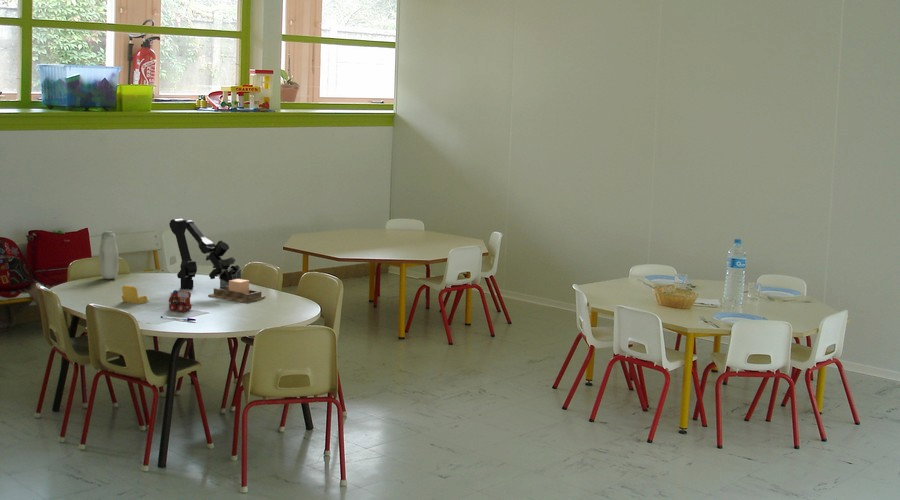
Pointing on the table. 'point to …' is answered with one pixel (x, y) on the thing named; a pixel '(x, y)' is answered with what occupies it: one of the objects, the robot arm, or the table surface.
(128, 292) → the yellow l-shaped block
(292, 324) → the table surface
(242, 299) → the tray
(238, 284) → the slider block
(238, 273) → the small box
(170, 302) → the toy fire truck
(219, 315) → the table surface
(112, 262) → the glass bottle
